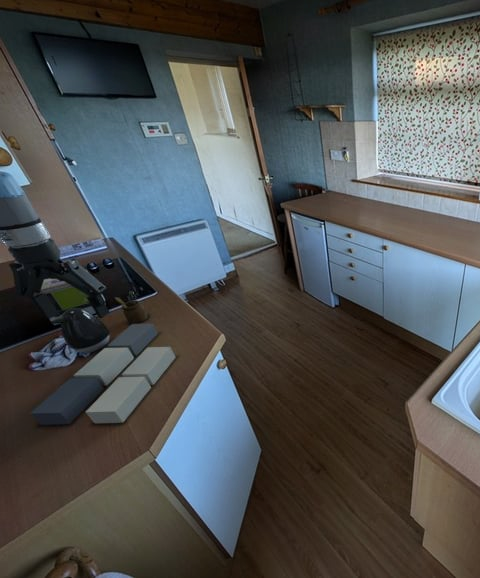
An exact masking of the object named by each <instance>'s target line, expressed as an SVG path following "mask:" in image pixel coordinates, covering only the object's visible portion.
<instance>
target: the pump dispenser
mask: <svg viewBox="0 0 480 578" xmlns="http://www.w3.org/2000/svg"><path fill="white" fill-rule="evenodd" d="M50 323H51V324H52V325H53V324H57V325H59V324H58V323H61V324H60V329H61V334H62V337H63V339H64V342H65V343H66V346H67V347H68V348H69V349H71V350H73V351H74V352H77V351H78V353H81V352H87V353H86V354H88V353H89V354H90V353H93V352H96V351H99V350H101V349H102V348H105V346H106V345H108V344H109V341H110V332H111V331H110V329H109V328H108V326H107V325H105V324H104V322H102V320H100V318H99V317H98V316H97V315H94V314H91V313H90V312H88V311H86V310H84V309H81V308H71V309H68V310H66V311H65V312H64V313H63V314H62V317H61V319H57V320H53V321H50Z"/></svg>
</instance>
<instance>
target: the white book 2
mask: <svg viewBox="0 0 480 578" xmlns="http://www.w3.org/2000/svg"><path fill="white" fill-rule="evenodd" d="M151 389H152V385H149V383H148V381H147V380H146V378H145V377H123V376H121V377H120V376H118V377H117V378H116V380H115V381H114V382H113V383H112V384H110V386H109V387H108V388H107V389H106V390H105V391H104V392H103V393H102V394H101V395H100V396H99V397H98V399H97V400H96V401H95V402H94V403H92V405H91V406H90V407H88V409H87V410H85V414H86V415H87V416H88V418H90V420H91V421H92V423H94V424H123V423H124V422H125V421H126V420H127V418H128V417H129V416H130V415H131V414H132V413H133V411H134V410H135V408H136V407H137V406H138V405H139V404H140V402H141V401H142V400H143V399H144V398H145V396H146V395H147V394H148V392H149V391H150V390H151Z"/></svg>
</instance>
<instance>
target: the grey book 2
mask: <svg viewBox="0 0 480 578" xmlns="http://www.w3.org/2000/svg"><path fill="white" fill-rule="evenodd" d="M158 334H159V333H158V331H157V329H156V327H155V325H154V323H135V324H132V323H131V325H129V326H128V327H126V329H125V330H123V331H122V332H121V333H120V334H119V335H117V337H115V338H114V339H113V340H112V341H111V342H110V343H108V344H107V348H128V349H129V350H130V352H131V354H132V356H133V357H137V356H139V354H140V353H142V352H143V350H144V349H145V347H146V346H148V345H149V344H150V342H152V340H153V339H154V338H156V337H157V335H158Z"/></svg>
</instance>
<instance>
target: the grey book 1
mask: <svg viewBox="0 0 480 578" xmlns="http://www.w3.org/2000/svg"><path fill="white" fill-rule="evenodd" d="M104 390H105V388H104V386H102V385H101V383H100V382H99V381H98V379H97V378H75V377H69V379H67V380H66V381H65V382H63V384H62V385H61V386H59V387H58V388H57V389H56V390H55V391H54V392H53V393H51V394H50V395H49V396H48V397H46V399H44V400H43V402H41V403H39V405H38V406H36V407H35V408H34V409H33V410H32V411H31V412H30V413H29V414H30V415H31V417H33V419H35V420H36V422H38V423H39V424H40V426H44V425H49V426H50V425H71V424H72V423H73V422H74V421H75V419H77V417H78V416H79V415H80V414H82V412H83V411H84V410H85V409H86V408H87V407H88V406H89V405H90V404H91V403H92V402H93V401H94V400H95V399H96V398H97V397H98V396H99V395H100V394H101V393H102V392H103V391H104Z"/></svg>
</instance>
